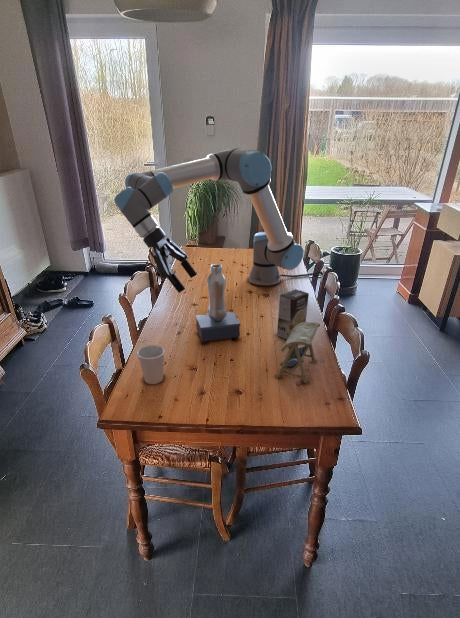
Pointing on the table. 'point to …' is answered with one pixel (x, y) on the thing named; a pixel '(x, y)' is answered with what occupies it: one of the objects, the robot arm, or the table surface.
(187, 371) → the table surface
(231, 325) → the grey rectangular box
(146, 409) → the table surface
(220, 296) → the plastic bottle
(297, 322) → the coffee box
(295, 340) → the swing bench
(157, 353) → the dixie cup
